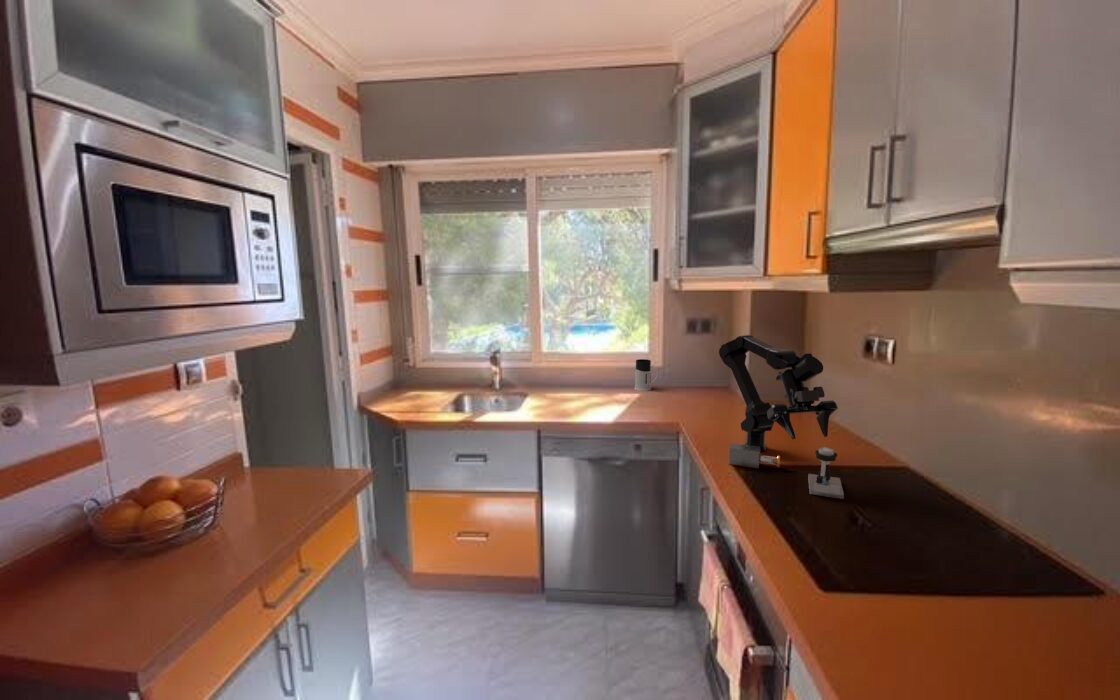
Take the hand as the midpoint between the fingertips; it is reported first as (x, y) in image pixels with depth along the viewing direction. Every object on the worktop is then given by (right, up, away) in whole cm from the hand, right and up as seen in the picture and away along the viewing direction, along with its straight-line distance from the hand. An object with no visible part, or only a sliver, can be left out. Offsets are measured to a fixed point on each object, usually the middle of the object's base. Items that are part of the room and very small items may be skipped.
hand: (810, 437), depth 145 cm
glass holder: (-27, +5, +114) cm, 117 cm away
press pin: (-9, -10, +10) cm, 17 cm away
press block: (-14, -10, +12) cm, 22 cm away
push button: (+1, -12, -6) cm, 13 cm away
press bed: (+1, -13, -6) cm, 14 cm away
